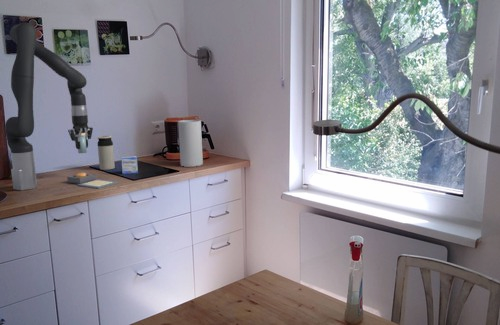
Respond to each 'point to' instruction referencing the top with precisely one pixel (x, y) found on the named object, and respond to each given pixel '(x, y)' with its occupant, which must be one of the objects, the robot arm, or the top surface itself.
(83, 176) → the button
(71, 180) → the button housing
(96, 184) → the picture board
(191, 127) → the cylinder vase
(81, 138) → the teal bottle
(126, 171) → the medicine box
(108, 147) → the travel mug
